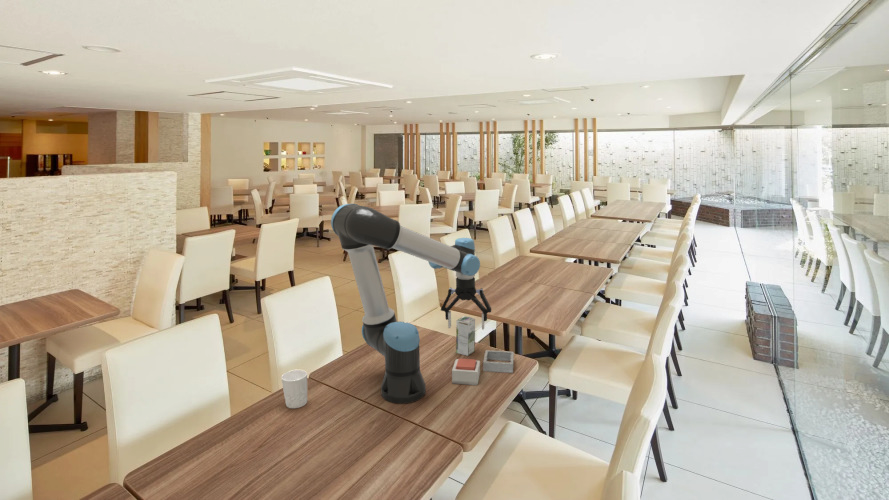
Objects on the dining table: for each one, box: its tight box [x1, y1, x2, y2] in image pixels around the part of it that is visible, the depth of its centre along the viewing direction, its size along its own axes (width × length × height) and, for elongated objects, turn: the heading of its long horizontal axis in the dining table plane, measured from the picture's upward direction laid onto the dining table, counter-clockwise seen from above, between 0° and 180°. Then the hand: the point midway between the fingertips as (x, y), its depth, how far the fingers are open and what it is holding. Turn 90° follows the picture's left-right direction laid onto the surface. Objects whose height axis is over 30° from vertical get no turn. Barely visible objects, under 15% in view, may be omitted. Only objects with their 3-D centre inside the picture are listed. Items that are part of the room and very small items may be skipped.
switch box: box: [451, 358, 481, 386], centre depth 165 cm, size 9×9×5 cm
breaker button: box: [456, 358, 477, 371], centre depth 164 cm, size 6×6×5 cm
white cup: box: [280, 369, 308, 409], centre depth 149 cm, size 8×8×10 cm
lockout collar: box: [482, 349, 515, 374], centre depth 174 cm, size 11×11×4 cm
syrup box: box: [455, 315, 476, 357], centre depth 185 cm, size 6×6×14 cm
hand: (466, 327), depth 185 cm, fingers open, 13 cm apart
